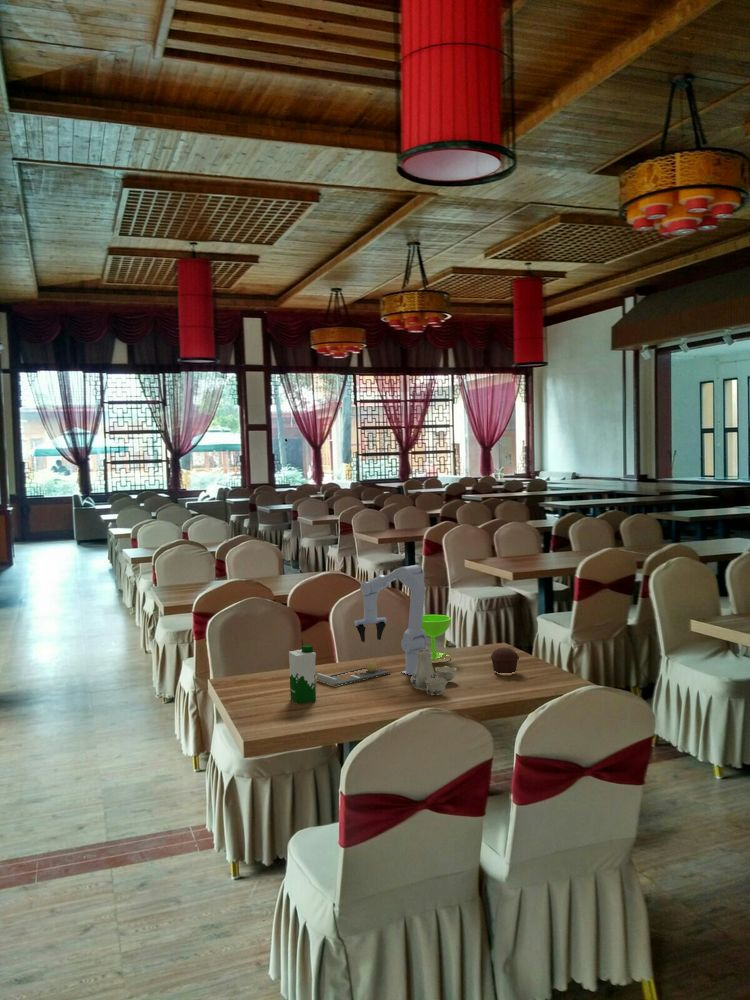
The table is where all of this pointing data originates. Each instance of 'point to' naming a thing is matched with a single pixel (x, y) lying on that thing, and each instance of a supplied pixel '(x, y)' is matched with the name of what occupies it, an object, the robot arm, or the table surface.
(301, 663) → the milk carton
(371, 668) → the ball
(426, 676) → the chinaware
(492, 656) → the muffin
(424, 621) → the wineglass
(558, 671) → the table surface
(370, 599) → the robot arm
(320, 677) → the lane mat
